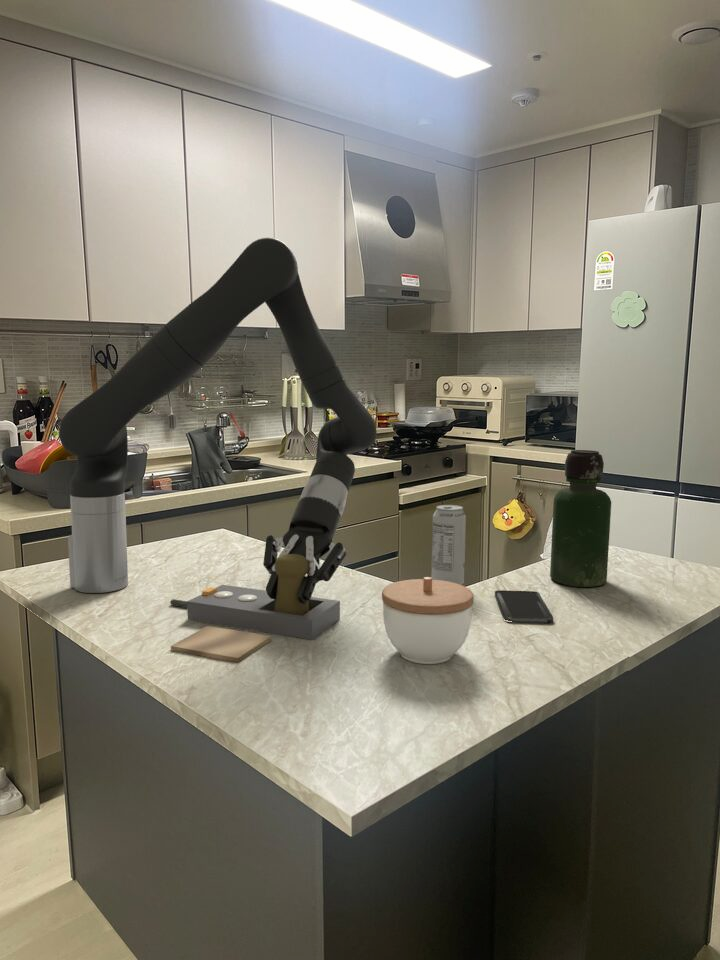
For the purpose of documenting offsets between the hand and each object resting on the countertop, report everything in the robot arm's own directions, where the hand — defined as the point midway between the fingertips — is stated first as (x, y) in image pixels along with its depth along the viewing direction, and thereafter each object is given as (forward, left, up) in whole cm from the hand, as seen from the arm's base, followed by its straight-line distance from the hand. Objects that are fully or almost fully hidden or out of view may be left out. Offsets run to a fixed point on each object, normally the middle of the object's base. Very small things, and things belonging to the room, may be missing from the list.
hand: (286, 598), depth 109 cm
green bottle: (+39, +45, -5) cm, 60 cm away
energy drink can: (+17, +31, -5) cm, 36 cm away
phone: (+32, +24, -5) cm, 41 cm away
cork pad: (-5, -10, -5) cm, 12 cm away
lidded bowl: (+23, -2, -5) cm, 24 cm away
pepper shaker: (0, +2, -5) cm, 5 cm away
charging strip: (-9, +2, -5) cm, 10 cm away
